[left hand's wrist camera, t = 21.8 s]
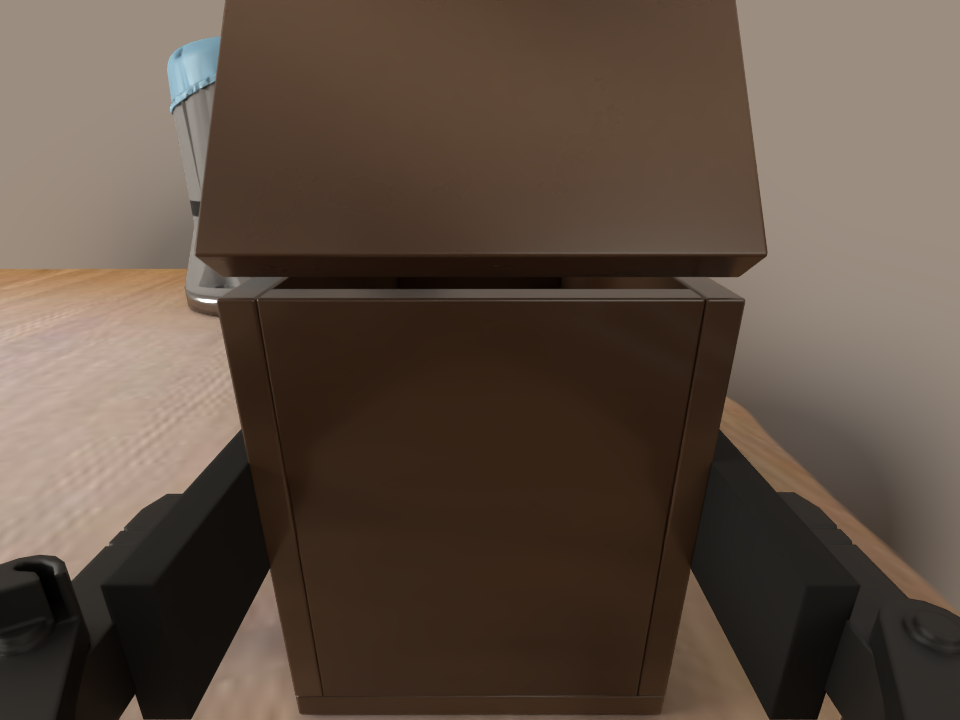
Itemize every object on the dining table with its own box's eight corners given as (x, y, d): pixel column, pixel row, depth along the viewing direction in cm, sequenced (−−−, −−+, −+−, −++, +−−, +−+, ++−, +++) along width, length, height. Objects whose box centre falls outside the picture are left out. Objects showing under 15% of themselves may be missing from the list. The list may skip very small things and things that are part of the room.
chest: (395, 408, 28) (380, 200, 24) (563, 408, 28) (578, 200, 24) (298, 716, 13) (214, 299, 9) (662, 715, 13) (747, 298, 9)
